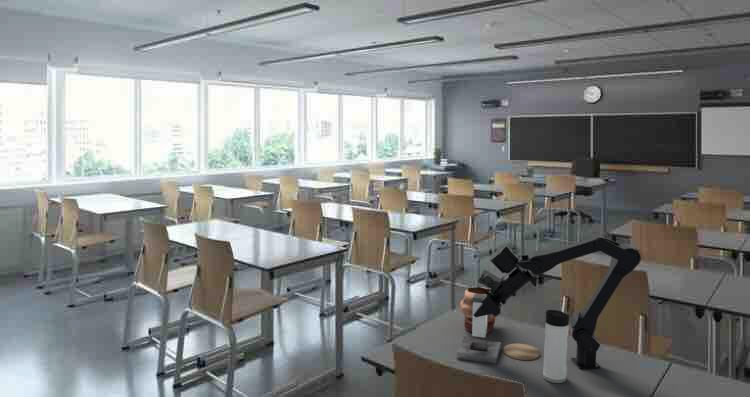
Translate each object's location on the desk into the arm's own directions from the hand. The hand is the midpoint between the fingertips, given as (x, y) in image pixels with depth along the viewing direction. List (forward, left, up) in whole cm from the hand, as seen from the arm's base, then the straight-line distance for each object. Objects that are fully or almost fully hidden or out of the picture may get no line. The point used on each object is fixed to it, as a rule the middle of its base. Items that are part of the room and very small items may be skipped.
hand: (475, 313), depth 170 cm
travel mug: (-19, -18, -13) cm, 29 cm away
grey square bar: (-1, -1, -7) cm, 7 cm away
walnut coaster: (-1, -15, -13) cm, 20 cm away
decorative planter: (+20, -7, -13) cm, 25 cm away
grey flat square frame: (-1, -1, -13) cm, 13 cm away
